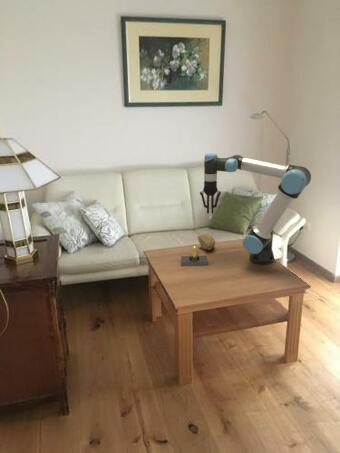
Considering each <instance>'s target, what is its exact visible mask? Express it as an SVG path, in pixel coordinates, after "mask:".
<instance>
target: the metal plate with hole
mask: <svg viewBox="0 0 340 453" xmlns="http://www.w3.org/2000/svg"><path fill="white" fill-rule="evenodd" d="M180 261H181V266H182V267H185V266H186V267H189V266H191V267H192V266H193V267H195V266H197V267H198V266H200V267H201V266H209V259H208V256H207V255H198V261H191V255H181V256H180Z"/></svg>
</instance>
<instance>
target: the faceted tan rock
mask: <svg viewBox="0 0 340 453" xmlns="http://www.w3.org/2000/svg"><path fill="white" fill-rule="evenodd" d="M196 237H197V240H198V242H199V244H200V247H201V248H202V250H205V251H210V250H212V249H215V247H216V240H215V239H214V237H213V235H211V234H208V233H204V234H201V235H197V236H196Z"/></svg>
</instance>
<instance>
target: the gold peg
mask: <svg viewBox="0 0 340 453" xmlns="http://www.w3.org/2000/svg"><path fill="white" fill-rule="evenodd" d="M190 256H191V261H199V260H198V256H199V245H198V244H191V245H190Z"/></svg>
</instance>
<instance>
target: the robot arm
mask: <svg viewBox="0 0 340 453" xmlns="http://www.w3.org/2000/svg"><path fill="white" fill-rule="evenodd" d="M203 164H204V166H203V167H204V169H203V170H204V172H203V177H204V178H203V179H204V181H203V189H202V191H199V194H200V197H201V199H202V204H203V207H204V208H206V213H207V214H208V220H212V218H213V217H212V214H214V208H217V206H218V202H219V199H220V196H221V195H222V191H220V190H218V186H217V185H218V182H217V180H218V172H227V173H235V172H237V170H241V171H244V172H251V173H253V174H259V175H264V176H268V177H272V178H275V179H280V183H279V184H278V186H277V190H278V192H277V193H276V195H275V196H274V198H273V200H272V201H271V203H270V204H269V206H268V207H267V209H266V211H265V212H264V214H263V215H262V216H261V218H260V220H259V222H258V223H254V225H253V226H252V227H251V229H250V231H249V233H248V234H247V235H246V236H245V237H244V238H243V240H242V246H243V248H244V250H245V251H246V252H248V253H249V256H248V259H249V261H250V262H251V263H254V264H257V265H270V264H272V263H274V262H275V254H274V251H273V241H274V240H273V238H274V229H275V227H276V226H277V224H278V222H279V221H280V219H281V218H282V216H283V215H284V214H285V212H286V210H287V209H288V207H289V206H290V205H291V203H292V202H293V200H296V199H298V198H299V197H300V195H301V194H302V192H303V190H304V189H305V188H306V187H307V186H309V184H310V182H311V179H312V175H311V171H310V170H309V169H308V168H306V167H305V166H302V165H293V164H287V165H284V164H280V163H274V162H270V161H264V160H261V159H255V158H250V157H244V156H242V155H241V154H235V155H232V156H228V157H218V154H217V153H206V154H205V155H204V158H203ZM204 194H205V196H206V201H205V196H204ZM215 195H216V196H215ZM210 197H211V199H210ZM214 197H215V199H214Z"/></svg>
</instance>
